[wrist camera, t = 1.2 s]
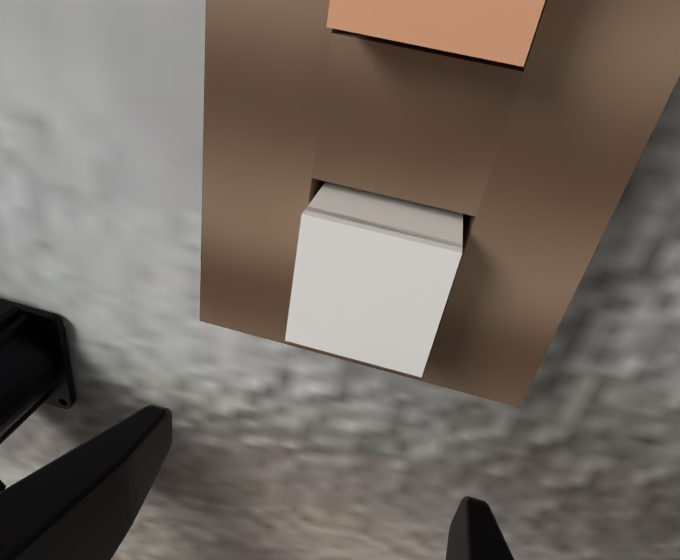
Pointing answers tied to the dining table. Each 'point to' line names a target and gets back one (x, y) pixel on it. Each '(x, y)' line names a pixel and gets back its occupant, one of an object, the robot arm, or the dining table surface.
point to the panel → (429, 162)
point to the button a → (372, 276)
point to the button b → (446, 24)
